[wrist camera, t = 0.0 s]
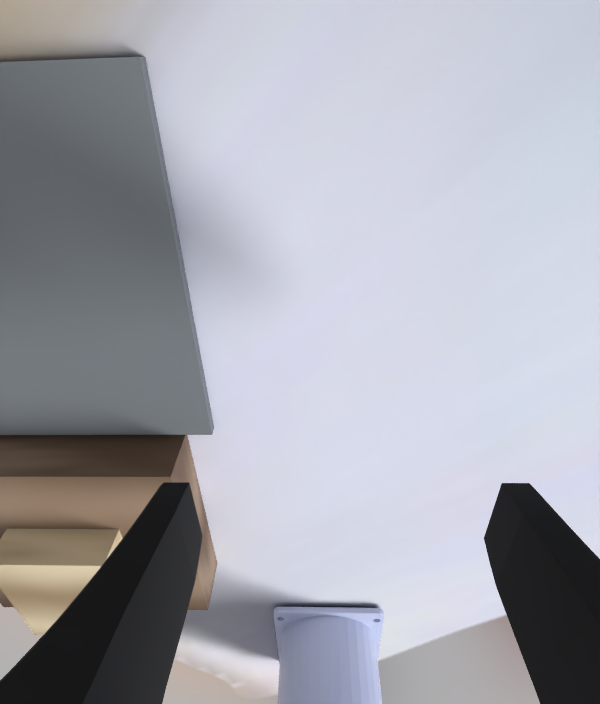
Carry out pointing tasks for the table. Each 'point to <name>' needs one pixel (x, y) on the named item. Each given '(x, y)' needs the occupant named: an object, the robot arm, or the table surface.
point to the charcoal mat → (91, 259)
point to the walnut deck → (96, 487)
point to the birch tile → (50, 569)
